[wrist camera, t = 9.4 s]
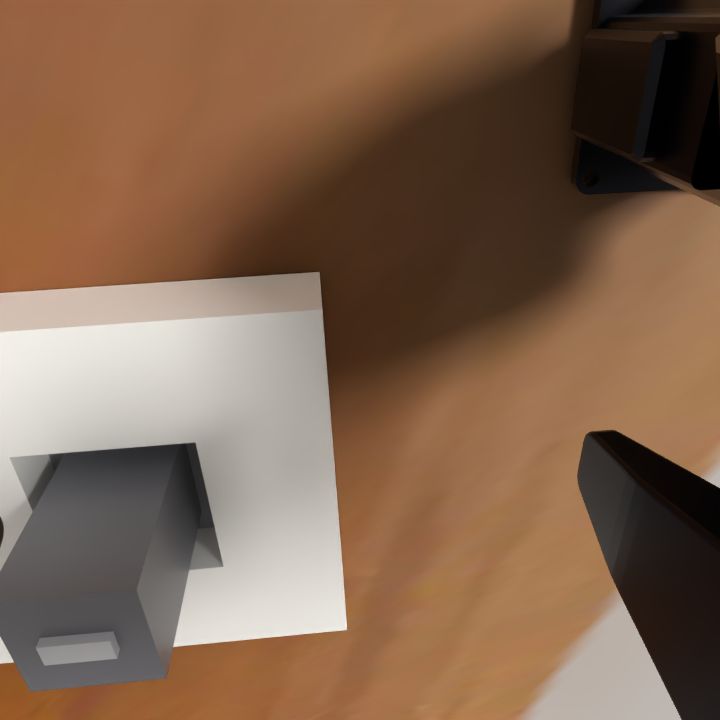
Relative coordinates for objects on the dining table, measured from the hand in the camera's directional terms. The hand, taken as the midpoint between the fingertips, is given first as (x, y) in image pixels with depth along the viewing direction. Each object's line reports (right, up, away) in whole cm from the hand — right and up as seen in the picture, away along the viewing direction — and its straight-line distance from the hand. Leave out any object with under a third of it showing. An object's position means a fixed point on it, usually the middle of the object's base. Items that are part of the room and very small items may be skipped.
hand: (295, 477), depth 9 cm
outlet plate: (-8, -2, +15) cm, 17 cm away
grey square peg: (-7, -3, +14) cm, 16 cm away
